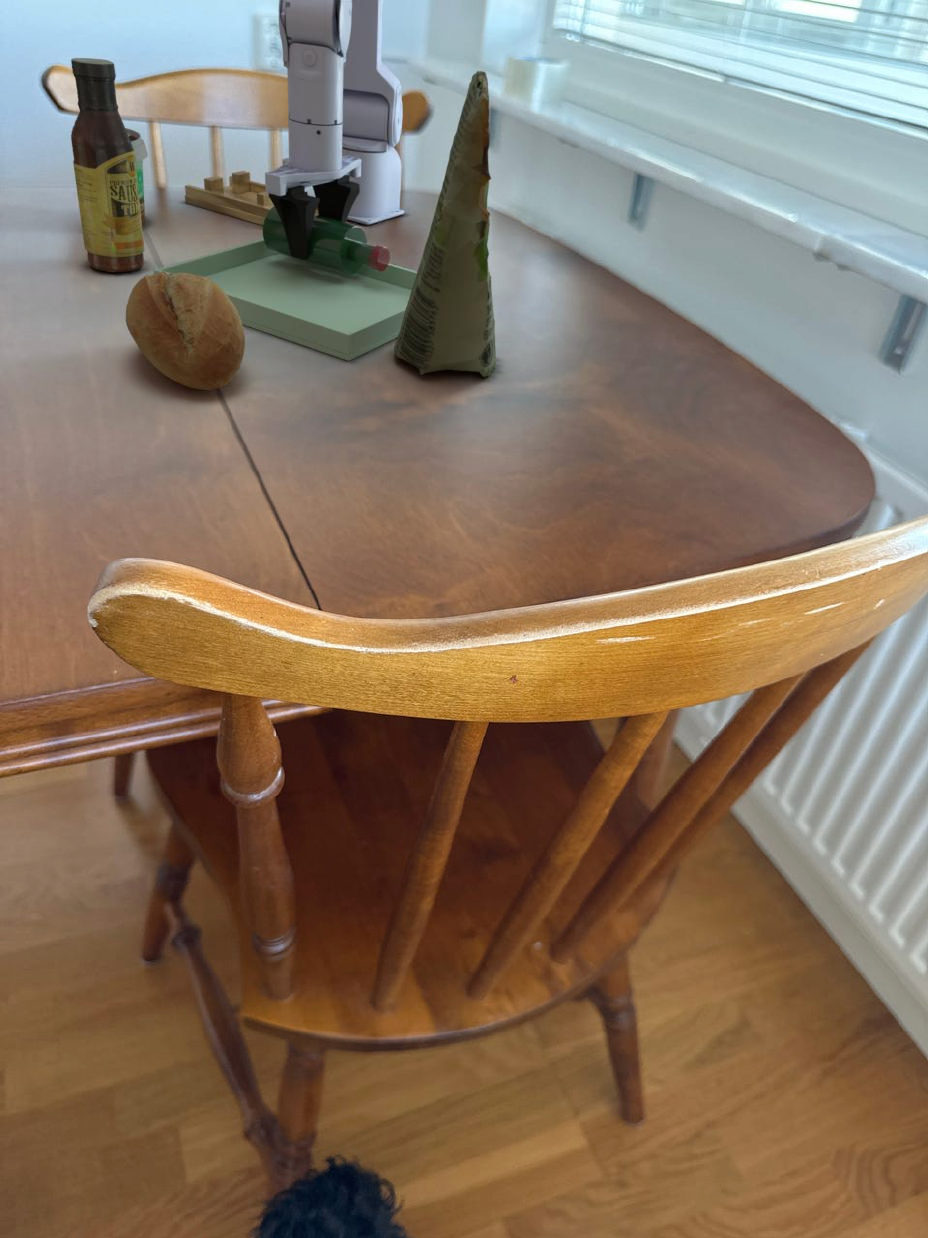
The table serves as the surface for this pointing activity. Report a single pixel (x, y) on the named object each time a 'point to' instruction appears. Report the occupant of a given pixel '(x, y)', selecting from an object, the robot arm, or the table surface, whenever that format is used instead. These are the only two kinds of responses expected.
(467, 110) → the olive green tall cone
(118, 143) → the sauce bottle
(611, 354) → the table surface
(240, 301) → the tray
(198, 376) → the bread roll
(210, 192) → the rack
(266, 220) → the bottle
